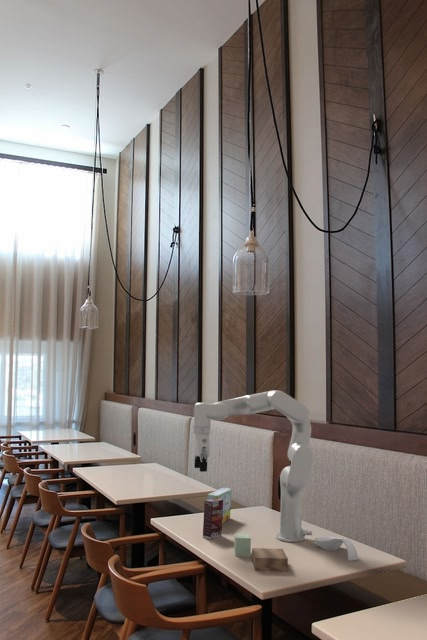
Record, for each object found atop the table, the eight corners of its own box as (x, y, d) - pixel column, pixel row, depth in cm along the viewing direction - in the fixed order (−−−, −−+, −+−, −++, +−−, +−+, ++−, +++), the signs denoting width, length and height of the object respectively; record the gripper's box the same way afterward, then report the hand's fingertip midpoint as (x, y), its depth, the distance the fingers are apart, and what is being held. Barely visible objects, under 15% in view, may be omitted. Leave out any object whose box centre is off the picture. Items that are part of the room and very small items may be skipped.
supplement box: (210, 539, 243) (212, 502, 245) (202, 537, 246) (203, 500, 248) (222, 535, 250) (223, 499, 252) (214, 533, 253) (215, 497, 255)
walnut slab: (282, 562, 217) (282, 548, 218) (287, 572, 205) (287, 558, 206) (251, 561, 217) (252, 548, 217) (255, 571, 205) (255, 557, 205)
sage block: (248, 551, 228) (249, 534, 228) (250, 556, 222) (250, 538, 222) (234, 551, 227) (234, 533, 228) (235, 556, 221) (235, 537, 222)
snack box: (216, 528, 262) (217, 495, 264) (205, 526, 264) (206, 494, 266) (231, 518, 282) (232, 488, 283) (220, 517, 284) (221, 486, 285)
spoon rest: (309, 545, 240) (309, 528, 241) (332, 543, 245) (332, 526, 246) (341, 562, 219) (342, 543, 219) (366, 560, 223) (366, 541, 224)
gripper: (215, 432, 241) (213, 472, 240) (205, 428, 258) (203, 466, 256) (198, 432, 240) (196, 473, 238) (189, 428, 256) (188, 466, 254)
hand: (200, 469), depth 247 cm, fingers open, 9 cm apart
